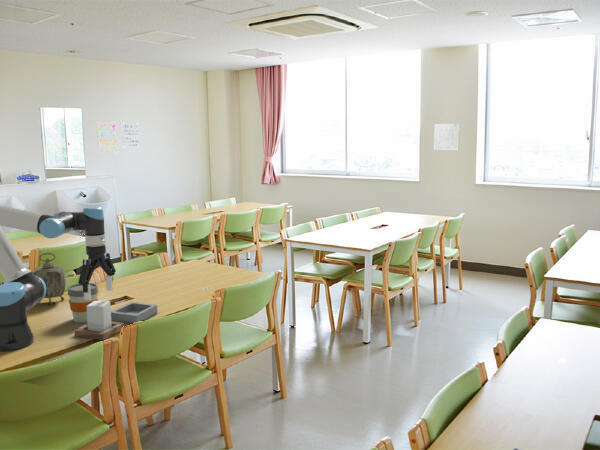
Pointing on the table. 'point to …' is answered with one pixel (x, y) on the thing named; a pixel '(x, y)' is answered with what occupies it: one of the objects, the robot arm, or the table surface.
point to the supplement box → (99, 316)
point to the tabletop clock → (52, 278)
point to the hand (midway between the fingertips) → (98, 295)
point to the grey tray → (133, 312)
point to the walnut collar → (103, 335)
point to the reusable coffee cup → (80, 301)
